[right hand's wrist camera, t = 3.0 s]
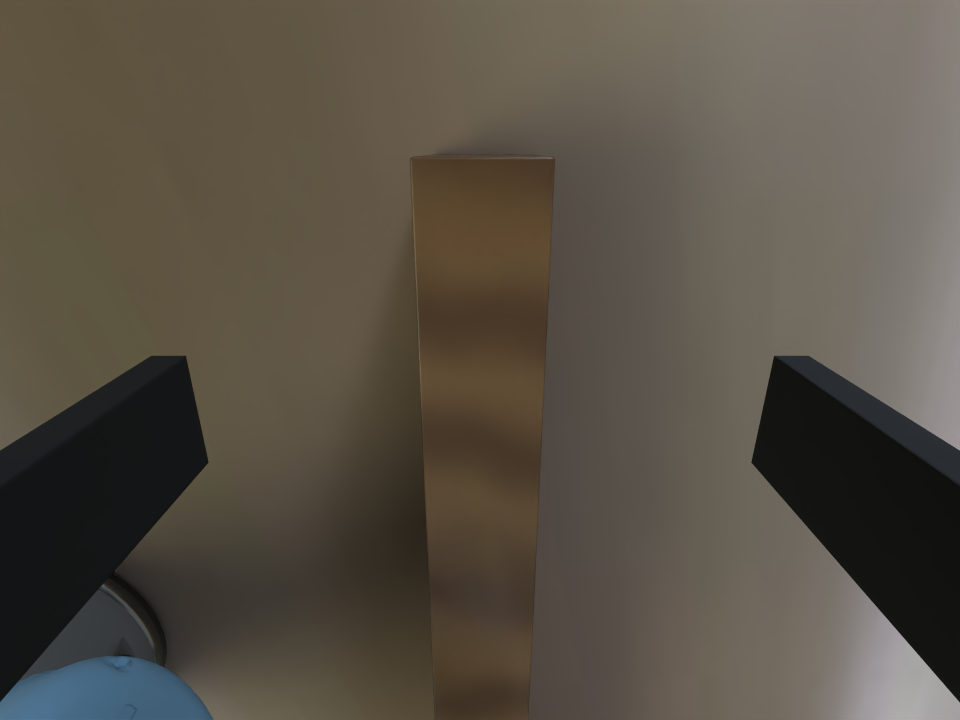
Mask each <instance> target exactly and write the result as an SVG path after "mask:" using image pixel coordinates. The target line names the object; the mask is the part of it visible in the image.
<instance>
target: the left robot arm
mask: <svg viewBox="0 0 960 720" xmlns="http://www.w3.org/2000/svg"><path fill="white" fill-rule="evenodd" d="M165 660H166V643H165V637H164V634H163V630H162V628H161V626H160V623H159V621H158V620H157V618H156V616H155V614H154V613H153V611H152V610H151V608H150V607H149V606H148V605H147V603H146V602H145V601H144V600H143V599H142V598H141V597H140V596H139V595H138V594H137V593H136V592H135V591H134V590H133V589H132V588H131V587H129V586H128V585H127V584H126V583H124V582H123V581H122V580H120V579H119V578H117V577H116V576H114V575H113V574H111V575H110V576H109V578H108V579H107V580H106V581H105V582H104V583H103V584H102V586H101V587H100V588H99V589H98V590H97V591H96V593H95V594H94V595H93V596H92V597H91V598H90V599H89V601H88V602H87V603H86V604H85V605H84V606H83V608H82V609H81V610H80V611H79V612H78V613H77V614H76V616H75V617H74V618H73V619H72V620H71V621H70V622H69V624H68V625H67V626H66V627H65V628H64V629H63V631H62V632H61V633H60V634H59V635H58V636H57V637H56V639H55V640H54V641H53V642H52V643H51V644H50V645H49V647H48V648H47V649H46V650H45V651H44V652H43V654H42V655H41V656H40V657H39V658H38V659H37V660H36V662H35V663H34V664H33V665H32V666H31V667H30V669H29V670H28V671H27V672H26V673H25V674H24V675H23V677H22V678H21V679H20V680H19V681H18V682H17V683H16V685H15V686H14V687H13V688H12V689H11V690H10V692H9V693H8V694H7V695H6V696H5V697H4V698H3V700H2V701H1V702H0V720H213V718H212V716H211V715H210V713H209V711H208V709H207V708H206V706H205V705H204V703H203V702H202V700H201V699H200V698H199V697H198V696H197V694H196V693H195V692H194V691H193V690H192V689H191V688H190V687H189V686H188V685H187V684H186V683H185V682H184V681H183V680H182V679H181V678H179V677H178V676H177V675H175V674H174V673H172V672H171V671H169V670H168V669H166V668H164V664H165Z"/></svg>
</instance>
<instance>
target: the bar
mask: <svg viewBox="0 0 960 720" xmlns="http://www.w3.org/2000/svg"><path fill="white" fill-rule="evenodd" d="M554 168H555V158H554V157H548V156H538V155H425V156H416V157H411V158H410V174H411V197H412V219H413V242H414V264H415V287H416V309H417V331H418V354H419V376H420V399H421V421H422V444H423V466H424V489H425V511H426V534H427V556H428V578H429V601H430V623H431V646H432V668H433V691H434V713H435V720H528V715H529V694H530V673H531V652H532V631H533V610H534V589H535V568H536V547H537V526H538V505H539V484H540V463H541V442H542V421H543V399H544V378H545V357H546V336H547V315H548V294H549V273H550V252H551V231H552V210H553V189H554Z"/></svg>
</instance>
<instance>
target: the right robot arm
mask: <svg viewBox="0 0 960 720" xmlns="http://www.w3.org/2000/svg"><path fill="white" fill-rule="evenodd" d="M208 463H209V462H208V458H207V453H206V448H205V444H204V439H203V434H202V430H201V425H200V420H199V416H198V411H197V406H196V401H195V397H194V392H193V387H192V383H191V378H190V373H189V369H188V364H187V359H186V356H151V357H149V358H147V359H146V360H144V361H143V362H141V363H139V364H138V365H136V366H135V367H133V368H131V369H130V370H128V371H127V372H125V373H123V374H122V375H120V376H119V377H117V378H115V379H114V380H112V381H111V382H109V383H107V384H106V385H104V386H103V387H101V388H100V389H98V390H96V391H95V392H93V393H92V394H90V395H88V396H87V397H85V398H84V399H82V400H80V401H79V402H77V403H76V404H74V405H72V406H71V407H69V408H68V409H66V410H64V411H63V412H61V413H60V414H58V415H56V416H55V417H53V418H52V419H50V420H48V421H47V422H45V423H44V424H42V425H40V426H39V427H37V428H36V429H34V430H33V431H31V432H29V433H28V434H26V435H25V436H23V437H21V438H20V439H18V440H17V441H15V442H13V443H12V444H10V445H9V446H7V447H5V448H4V449H2V450H1V451H0V702H1V701H2V700H3V698H4V697H5V696H6V695H7V694H8V693H9V692H10V690H11V689H12V688H13V687H14V686H15V685H16V683H17V682H18V681H19V680H20V679H21V678H22V677H23V675H24V674H25V673H26V672H27V671H28V670H29V669H30V667H31V666H32V665H33V664H34V663H35V662H36V660H37V659H38V658H39V657H40V656H41V655H42V654H43V652H44V651H45V650H46V649H47V648H48V647H49V645H50V644H51V643H52V642H53V641H54V640H55V639H56V637H57V636H58V635H59V634H60V633H61V632H62V631H63V629H64V628H65V627H66V626H67V625H68V624H69V622H70V621H71V620H72V619H73V618H74V617H75V616H76V614H77V613H78V612H79V611H80V610H81V609H82V608H83V606H84V605H85V604H86V603H87V602H88V601H89V599H90V598H91V597H92V596H93V595H94V594H95V593H96V591H97V590H98V589H99V588H100V587H101V586H102V584H103V583H104V582H105V581H106V580H107V579H108V578H109V576H110V575H111V574H112V573H113V572H114V571H115V570H116V568H117V567H118V566H119V565H120V564H121V563H122V561H123V560H124V559H125V558H126V557H127V556H128V555H129V553H130V552H131V551H132V550H133V549H134V548H135V547H136V545H137V544H138V543H139V542H140V541H141V540H142V538H143V537H144V536H145V535H146V534H147V533H148V532H149V530H150V529H151V528H152V527H153V526H154V525H155V523H156V522H157V521H158V520H159V519H160V518H161V517H162V515H163V514H164V513H165V512H166V511H167V510H168V509H169V507H170V506H171V505H172V504H173V503H174V502H175V500H176V499H177V498H178V497H179V496H180V495H181V494H182V492H183V491H184V490H185V489H186V488H187V487H188V486H189V484H190V483H191V482H192V481H193V480H194V479H195V477H196V476H197V475H198V474H199V473H200V472H201V471H202V469H203V468H204V467H205V466H206V465H207V464H208ZM751 463H752V464H753V465H754V466H755V467H756V468H757V469H758V471H759V472H760V473H761V474H762V475H763V476H764V477H765V479H766V480H767V481H768V482H769V483H770V484H771V486H772V487H773V488H774V489H775V490H776V491H777V492H778V494H779V495H780V496H781V497H782V498H783V499H784V500H785V502H786V503H787V504H788V505H789V506H790V507H791V509H792V510H793V511H794V512H795V513H796V514H797V515H798V517H799V518H800V519H801V520H802V521H803V522H804V524H805V525H806V526H807V527H808V528H809V529H810V530H811V532H812V533H813V534H814V535H815V536H816V537H817V538H818V540H819V541H820V542H821V543H822V544H823V545H824V547H825V548H826V549H827V550H828V551H829V552H830V553H831V555H832V556H833V557H834V558H835V559H836V560H837V561H838V563H839V564H840V565H841V566H842V567H843V568H844V570H845V571H846V572H847V573H848V574H849V575H850V576H851V578H852V579H853V580H854V581H855V582H856V583H857V584H858V586H859V587H860V588H861V589H862V590H863V591H864V593H865V594H866V595H867V596H868V597H869V598H870V599H871V601H872V602H873V603H874V604H875V605H876V606H877V608H878V609H879V610H880V611H881V612H882V613H883V614H884V616H885V617H886V618H887V619H888V620H889V621H890V622H891V624H892V625H893V626H894V627H895V628H896V629H897V631H898V632H899V633H900V634H901V635H902V636H903V637H904V639H905V640H906V641H907V642H908V643H909V644H910V645H911V647H912V648H913V649H914V650H915V651H916V652H917V654H918V655H919V656H920V657H921V658H922V659H923V660H924V662H925V663H926V664H927V665H928V666H929V667H930V669H931V670H932V671H933V672H934V673H935V674H936V675H937V677H938V678H939V679H940V680H941V681H942V682H943V683H944V685H945V686H946V687H947V688H948V689H949V690H950V692H951V693H952V694H953V695H954V696H955V697H956V698H957V700H958V701H959V702H960V451H959V450H958V449H956V448H955V447H953V446H951V445H950V444H948V443H947V442H945V441H943V440H942V439H940V438H939V437H937V436H935V435H934V434H932V433H931V432H929V431H927V430H926V429H924V428H923V427H921V426H920V425H918V424H916V423H915V422H913V421H912V420H910V419H908V418H907V417H905V416H904V415H902V414H900V413H899V412H897V411H896V410H894V409H892V408H891V407H889V406H888V405H886V404H884V403H883V402H881V401H880V400H878V399H876V398H875V397H873V396H872V395H870V394H868V393H867V392H865V391H864V390H862V389H860V388H859V387H857V386H856V385H854V384H852V383H851V382H849V381H848V380H846V379H845V378H843V377H841V376H840V375H838V374H837V373H835V372H833V371H832V370H830V369H829V368H827V367H825V366H824V365H822V364H821V363H819V362H817V361H816V360H814V359H813V358H811V357H809V356H774V359H773V364H772V369H771V373H770V378H769V383H768V387H767V392H766V397H765V401H764V406H763V411H762V416H761V420H760V425H759V430H758V434H757V439H756V444H755V448H754V453H753V458H752V462H751Z"/></svg>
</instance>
